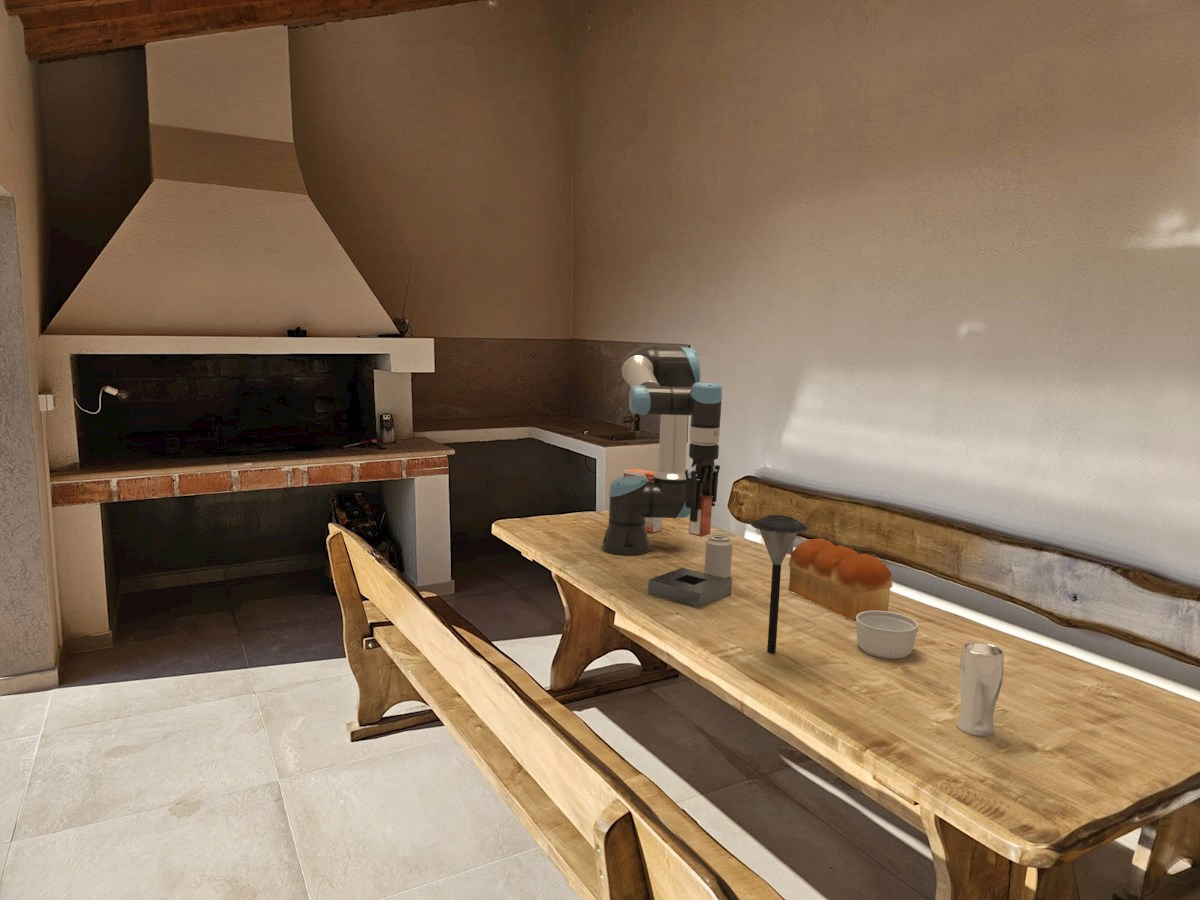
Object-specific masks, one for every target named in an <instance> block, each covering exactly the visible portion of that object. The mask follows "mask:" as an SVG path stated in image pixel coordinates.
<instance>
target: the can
mask: <svg viewBox="0 0 1200 900" xmlns="http://www.w3.org/2000/svg"><path fill="white" fill-rule="evenodd" d="M704 553H705V554H704V555H705V557H704V572H703V573H706V574H710V575H714V576H719V577H723V578H727V579H729V578H730V577H731V574H732V559H733V558H732V557H733V542H732V540H731V536H729V535H725V534H718V533H717V534H715V533H714V534H709V535H708V539H706V541H705V551H704Z"/></svg>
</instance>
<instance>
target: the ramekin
mask: <svg viewBox="0 0 1200 900" xmlns="http://www.w3.org/2000/svg"><path fill="white" fill-rule="evenodd" d="M854 621H855V626H856V641H857V645H858V646H859V648H860V649H861V651H863V652H865V653H866V654H868V655H871V656H872V657H873V656H874V657H878V658H883V659H889V660H890V659H891V660H892V659H893V660H895V659H897V660H898V659H899V658H900V659H903V658H907V657H908V656H909V655H911V654H912V652H913V650H914V647H915V642H916V637H917V633H918V632H919V624H918V621H916V620H915V619H913V618H912V617H909V616H907V615H904V614H901V613H897V612H893V611H889V610H888V611H865V612H861V613H859V614H857V616H856V620H854Z"/></svg>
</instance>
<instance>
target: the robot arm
mask: <svg viewBox="0 0 1200 900" xmlns="http://www.w3.org/2000/svg"><path fill="white" fill-rule="evenodd" d="M620 372H621V375H622V378H623V380H624V381H625V382H626V383H627V384H628V385H629V386H630V389H629V395H628V396H629V397H628V406H629V411H630V412H631V414H634V415H642V416H647V415H653V416H655V415H656V416H657V415H658V416H659V415H660V420H659V421H660V422H659V423H660V424H659V445H658V446H659V448H658V449H659V450H658V469H657V471H655V472H656V473H655V474H654V476H653V481H647V478H646V477H644V476H626V477H624V476H622V477H618V478H615V479H613V480H612V481H611V482H610V486H609V493H608V496H609V502H608V503H609V507H608V509H609V510H608V526H607V529H606V532H605V534H604V536H603V540H602V547H601V548H602V549H601V550H603V551H605V552H607V553H609V554H613V555H621V556H622V555H623V556H637V555H638V556H639V555H643V554H648V553H649V552H650V546H651V544H650V541H649V536H648V534H647V533H648V532H646V529H645V518H662V519H665V518H666V519H685V518H687V517H688V516H689V523H690V533H693V534H698V535H699V534H700V523H701V509H699V507H700V501H701V495H706V496H711V497H712V507H715V506H716V502H717V499H718V498H717V495H718V484H719V483H718V481H719V472H720V471H721V470H720V469H721V466H720V464H715V461H716V460H718V459H719V453H720V452H719V450H720V446H719V444H718V443H719V442H720V436H721V432H720V428H721V427H720V426H721V415H722V414H721V413H722V402H723V401H722V400H723V391H722V389H723V387H722V385H721V384H720V383H717V382H716V383H715V382H701V379H700V378H701V366H700V358H699V356H698V353H697V351H696V350H695V349H694V348H691V347H685V346H652V345H650V346H641V347H639V348H636V349H634V350H632V351H631V352H630V353H628V354H627V355H626V356H625V357H624V359H623V360H622V362H621V365H620ZM689 416H690V428H689V441H690V442H691V443H689V447H688V446H687V445H688V444H687V443H688V425H689V423H688V422H689V421H688V419H689ZM687 447H688V457H689V458H690V459H692V463H691V467H690V469H686V468H687V467H686V465H687ZM690 510H691V511H690ZM648 551H649V552H648Z"/></svg>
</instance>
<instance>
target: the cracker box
mask: <svg viewBox="0 0 1200 900" xmlns="http://www.w3.org/2000/svg"><path fill="white" fill-rule="evenodd" d="M656 472H657V471H650V470H645V469H640V468H634V467H633V468H627V469H624V470H623V477H626V476H644V477H646V478H647V481H653V476H654V474H655V473H656ZM645 529H646V532H647V533H649V532H650V533H649V534H655V533H659V532H662V531H663V518H645ZM661 530H662V531H661ZM658 531H659V532H658ZM654 532H655V533H654Z"/></svg>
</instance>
